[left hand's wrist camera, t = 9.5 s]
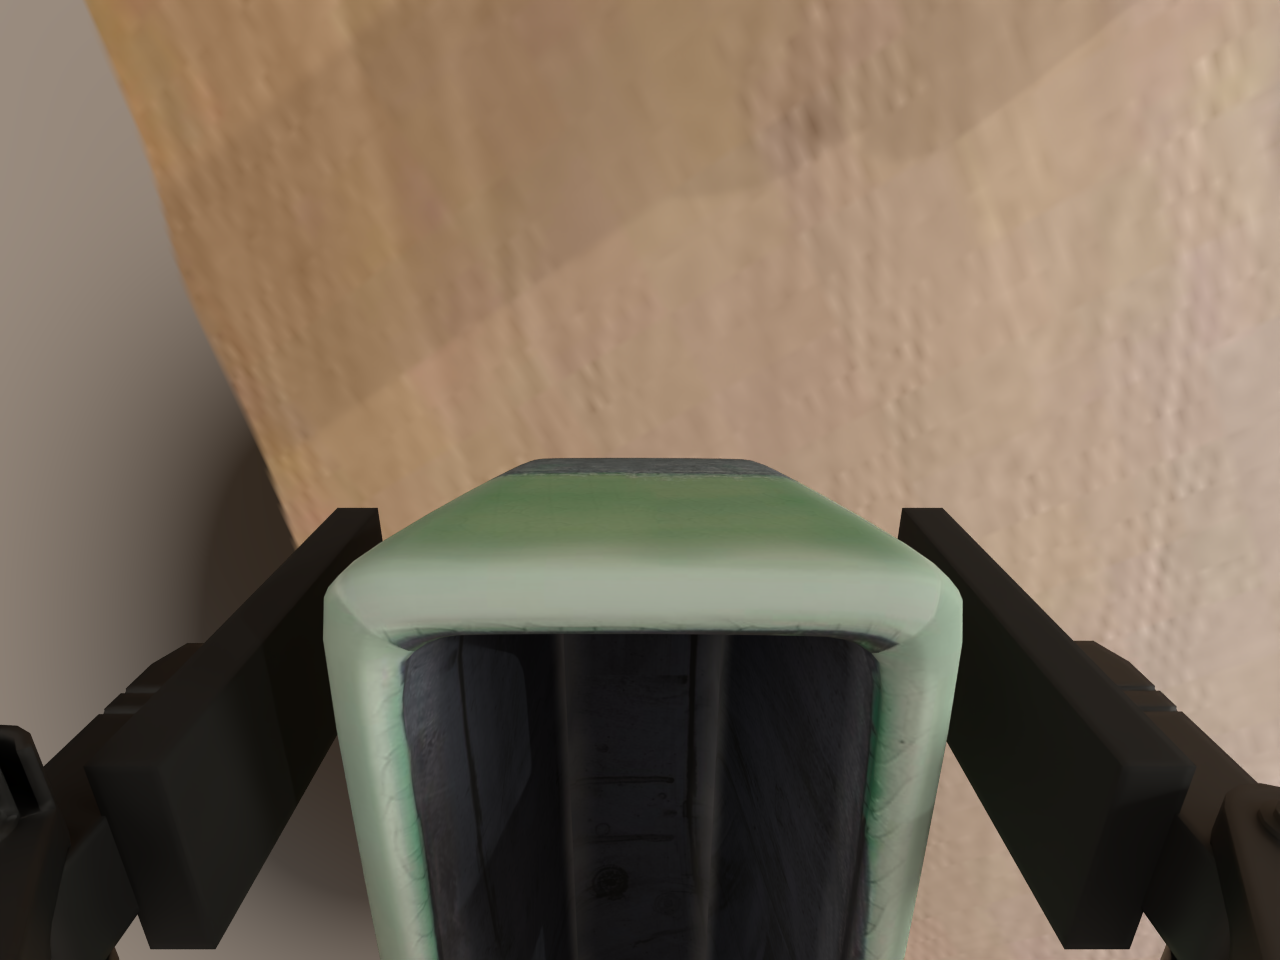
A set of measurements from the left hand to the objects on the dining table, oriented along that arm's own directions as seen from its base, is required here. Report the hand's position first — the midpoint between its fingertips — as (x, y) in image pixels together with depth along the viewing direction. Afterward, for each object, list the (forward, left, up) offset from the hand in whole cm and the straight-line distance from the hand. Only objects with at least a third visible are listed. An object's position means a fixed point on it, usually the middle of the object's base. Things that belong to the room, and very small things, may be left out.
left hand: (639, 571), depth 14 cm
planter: (+11, 0, -1) cm, 11 cm away
